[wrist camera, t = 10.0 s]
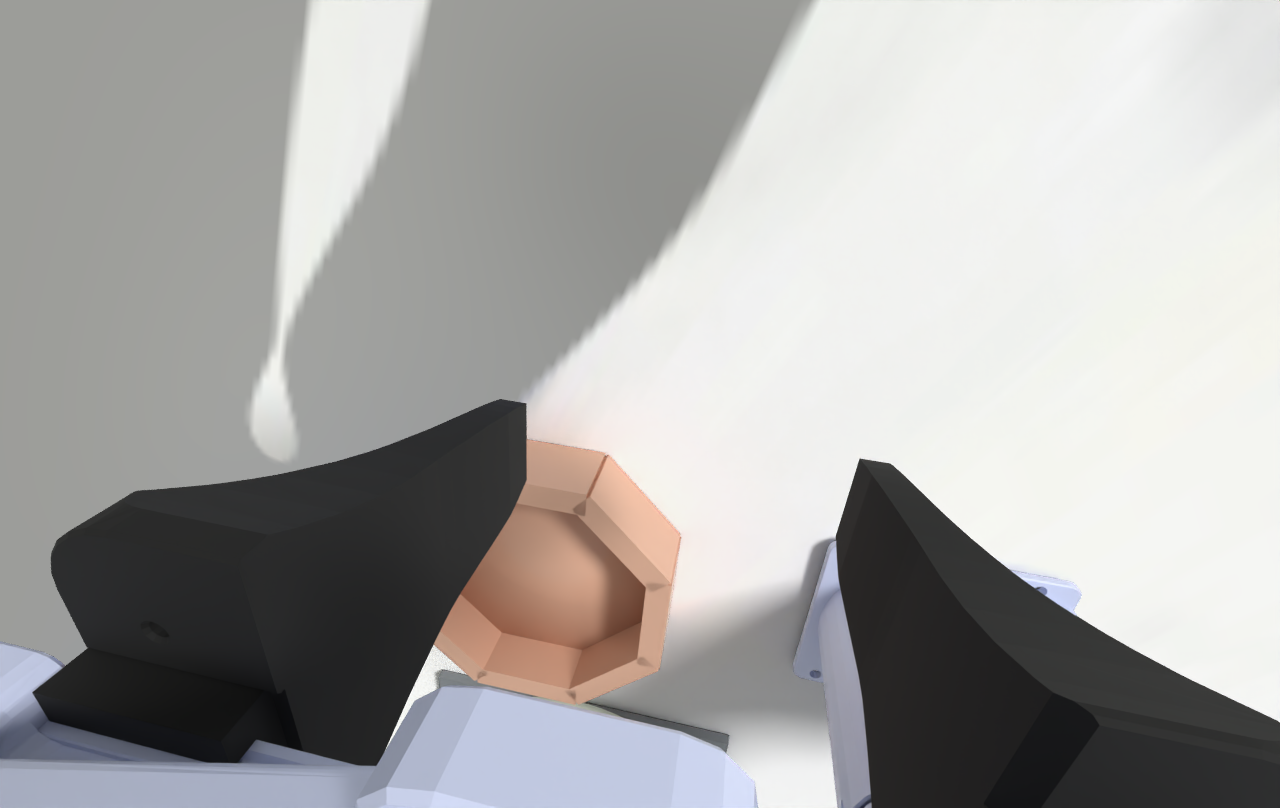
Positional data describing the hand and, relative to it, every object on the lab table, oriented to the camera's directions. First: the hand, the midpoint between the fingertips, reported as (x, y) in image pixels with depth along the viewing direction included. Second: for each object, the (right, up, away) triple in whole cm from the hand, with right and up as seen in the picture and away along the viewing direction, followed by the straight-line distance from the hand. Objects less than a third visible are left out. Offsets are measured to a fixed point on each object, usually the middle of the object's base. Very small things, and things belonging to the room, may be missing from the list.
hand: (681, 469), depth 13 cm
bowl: (-5, -6, +14) cm, 16 cm away
